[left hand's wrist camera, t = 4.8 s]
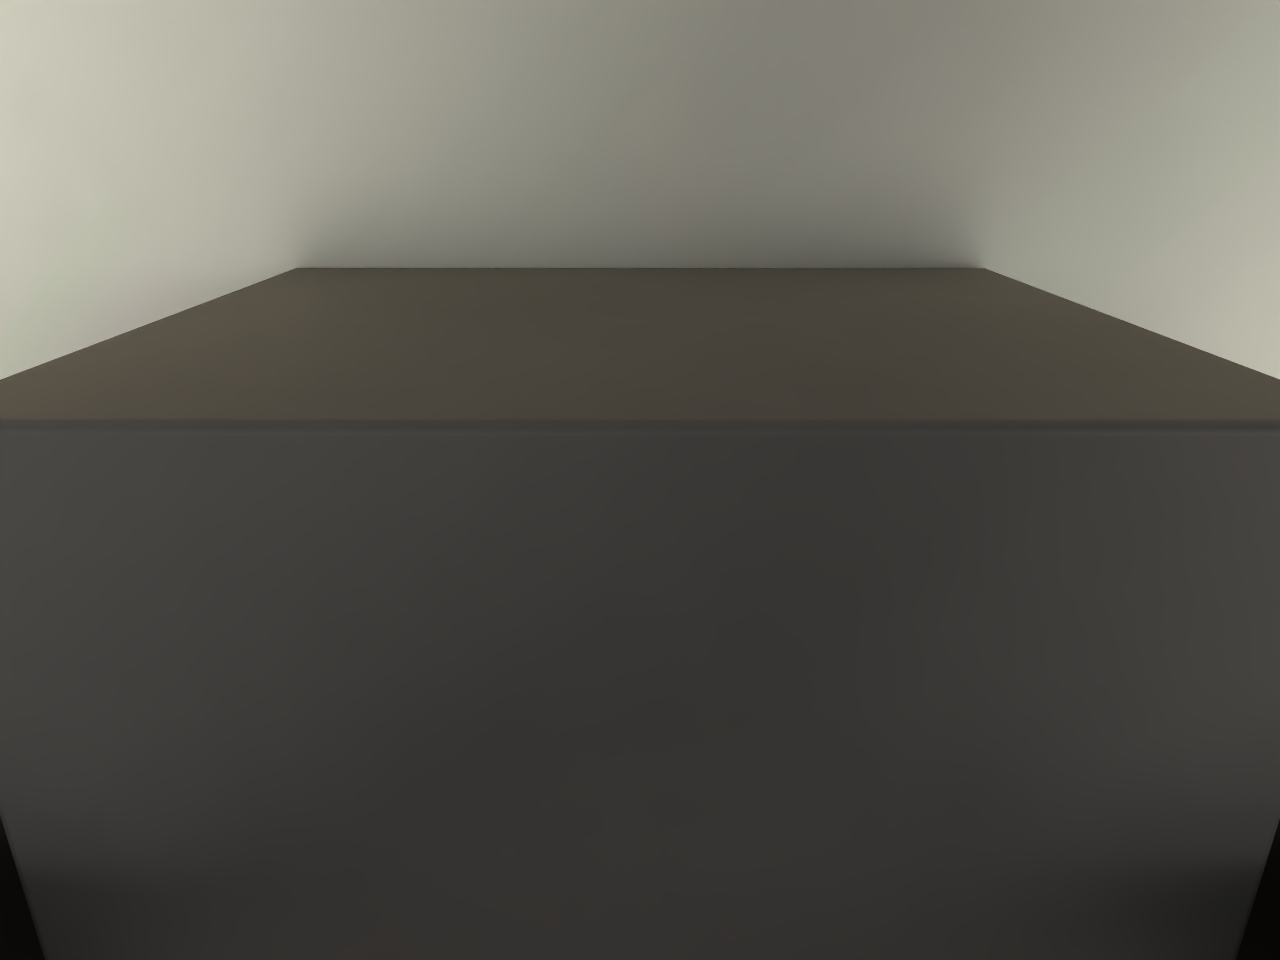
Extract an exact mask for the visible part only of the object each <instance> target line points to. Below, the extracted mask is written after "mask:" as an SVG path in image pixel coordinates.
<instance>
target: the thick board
mask: <svg viewBox="0 0 1280 960" xmlns="http://www.w3.org/2000/svg"><path fill="white" fill-rule="evenodd" d="M0 816H1V820H2V823H3V826H4V829H5V832H6V836H7V839H8V842H9V845H10V849H11V852H12V855H13V858H14V862H15V865H16V868H17V871H18V875H19V878H20V881H21V884H22V888H23V891H24V894H25V897H26V901H27V904H28V907H29V910H30V913H31V917H32V920H33V923H34V926H35V930H36V933H37V936H38V939H39V943H40V946H41V949H42V952H43V956H44V959H45V960H1236V958H1237V955H1238V952H1239V949H1240V945H1241V942H1242V939H1243V936H1244V932H1245V929H1246V926H1247V923H1248V919H1249V916H1250V913H1251V910H1252V906H1253V903H1254V900H1255V897H1256V894H1257V890H1258V887H1259V884H1260V881H1261V877H1262V874H1263V871H1264V868H1265V864H1266V861H1267V858H1268V855H1269V852H1270V848H1271V845H1272V842H1273V839H1274V835H1275V832H1276V829H1277V826H1278V822H1279V819H1280V380H1279V379H1277V378H1274V377H1271V376H1269V375H1266V374H1263V373H1261V372H1258V371H1255V370H1253V369H1250V368H1247V367H1245V366H1242V365H1239V364H1237V363H1234V362H1231V361H1229V360H1226V359H1223V358H1221V357H1218V356H1215V355H1213V354H1210V353H1208V352H1205V351H1202V350H1200V349H1197V348H1194V347H1192V346H1189V345H1186V344H1184V343H1181V342H1178V341H1176V340H1173V339H1170V338H1168V337H1165V336H1162V335H1160V334H1157V333H1154V332H1152V331H1149V330H1146V329H1144V328H1141V327H1139V326H1136V325H1133V324H1131V323H1128V322H1125V321H1123V320H1120V319H1117V318H1115V317H1112V316H1109V315H1107V314H1104V313H1101V312H1099V311H1096V310H1093V309H1091V308H1088V307H1085V306H1083V305H1080V304H1077V303H1075V302H1072V301H1070V300H1067V299H1064V298H1062V297H1059V296H1056V295H1054V294H1051V293H1048V292H1046V291H1043V290H1040V289H1038V288H1035V287H1032V286H1030V285H1027V284H1024V283H1022V282H1019V281H1016V280H1014V279H1011V278H1008V277H1006V276H1003V275H1001V274H998V273H995V272H993V271H990V270H987V269H702V268H701V269H698V268H697V269H694V268H692V269H690V268H296V269H293V270H291V271H288V272H285V273H283V274H280V275H277V276H275V277H272V278H269V279H267V280H264V281H261V282H259V283H256V284H253V285H251V286H248V287H246V288H243V289H240V290H238V291H235V292H232V293H230V294H227V295H224V296H222V297H219V298H216V299H214V300H211V301H208V302H206V303H203V304H200V305H198V306H195V307H193V308H190V309H187V310H185V311H182V312H179V313H177V314H174V315H171V316H169V317H166V318H163V319H161V320H158V321H155V322H153V323H150V324H147V325H145V326H142V327H139V328H137V329H134V330H132V331H129V332H126V333H124V334H121V335H118V336H116V337H113V338H110V339H108V340H105V341H102V342H100V343H97V344H94V345H92V346H89V347H86V348H84V349H81V350H79V351H76V352H73V353H71V354H68V355H65V356H63V357H60V358H57V359H55V360H52V361H49V362H47V363H44V364H41V365H39V366H36V367H33V368H31V369H28V370H25V371H23V372H20V373H18V374H15V375H12V376H10V377H7V378H4V379H2V380H0Z"/></svg>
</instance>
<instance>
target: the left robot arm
mask: <svg viewBox="0 0 1280 960" xmlns="http://www.w3.org/2000/svg"><path fill="white" fill-rule="evenodd" d="M0 960H45V959H44V956H43V952H42V949H41V946H40V943H39V939H38V936H37V933H36V930H35V926H34V923H33V920H32V917H31V913H30V910H29V907H28V904H27V901H26V897H25V894H24V891H23V888H22V884H21V881H20V878H19V875H18V871H17V868H16V865H15V862H14V858H13V855H12V852H11V849H10V845H9V842H8V839H7V836H6V832H5V829H4V826H3V823H2V820H1V816H0ZM1236 960H1280V819H1279V822H1278V826H1277V829H1276V832H1275V835H1274V839H1273V842H1272V845H1271V848H1270V852H1269V855H1268V858H1267V861H1266V864H1265V868H1264V871H1263V874H1262V877H1261V881H1260V884H1259V887H1258V890H1257V894H1256V897H1255V900H1254V903H1253V906H1252V910H1251V913H1250V916H1249V919H1248V923H1247V926H1246V929H1245V932H1244V936H1243V939H1242V942H1241V945H1240V949H1239V952H1238V955H1237V958H1236Z"/></svg>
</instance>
